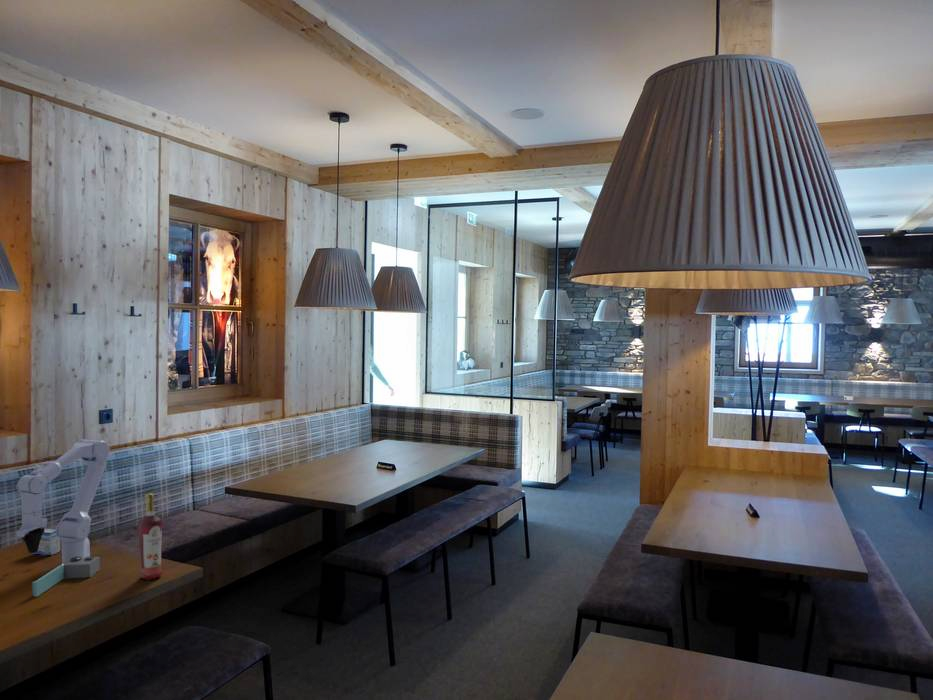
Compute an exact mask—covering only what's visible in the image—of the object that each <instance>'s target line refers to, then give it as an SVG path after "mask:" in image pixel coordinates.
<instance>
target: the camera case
mask: <svg viewBox="0 0 933 700" xmlns="http://www.w3.org/2000/svg"><path fill="white" fill-rule="evenodd" d="M100 560H101V559H100V556H92V555H90V557H83V558H81V557H73V558H71V559H70V560H68V561H67V562H66V563H64V577H65V579H86V578H87V577H90V578H92V577H93V576H94V575H95V574H96V572H97V571H98V570H99V569H100V568H101V564H100V563H101V562H100ZM100 570H101V569H100ZM100 570H99V571H100ZM99 571H98V572H99ZM98 572H97V573H98Z"/></svg>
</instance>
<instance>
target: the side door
mask: <svg viewBox="0 0 933 700" xmlns="http://www.w3.org/2000/svg"><path fill="white" fill-rule="evenodd" d="M59 565H60V566H59ZM59 565H58V566H56V567H55V568H53V569H52V570H50V571H49V572H47V573H46V574H44V575H42V576H41V577H39V578H38V579H37V580H34V581H32V582H31V593H32V596H33V597H35V598H36V597H39V596H40V595H42V594H44V592H46V591H48V590H49V589H50V588H52V587H54V586H55V585H57V584H58V583H59V582H61V581H63V580H65V579H66V578H65V577H64V564H62V563H61V564H59Z"/></svg>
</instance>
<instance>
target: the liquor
mask: <svg viewBox="0 0 933 700" xmlns="http://www.w3.org/2000/svg"><path fill="white" fill-rule="evenodd" d="M154 499H155V494H154V493H146V494H144V501H145V511H144V513H145V514H144V517H143V518H141V519H140V520H139V521H138V522H137V528H138V530H137V531H138V542H139V551H140V553H139V555H140V571H141V573H140V574H139V577H140V578H142V579H143V580H145V579H153V580H156V579H158V578H159V577H160V576H161V575H162V574H163V570H162V541H163V540H162V537H163V536H162V534H163V532H162V531H163V520H162V518H160V517H158V516H156V515H155V507H154ZM157 577H158V578H157ZM155 578H156V579H155Z"/></svg>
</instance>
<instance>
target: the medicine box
mask: <svg viewBox="0 0 933 700" xmlns="http://www.w3.org/2000/svg"><path fill="white" fill-rule="evenodd" d="M44 529H45V531H44V533H43V535H42V537H41V540H40V543H39V547H38V551H37V552H36V553H32V555H33V554H41V555H40V556H46V555H52V554H55V553H57V552H59V551H60V552H61V540H60V537H59V536H57V534H56V529H53V528H51V529H50V528H44ZM60 552H59V553H60ZM57 554H58V553H57ZM55 555H56V554H55ZM52 556H53V555H52Z"/></svg>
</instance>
